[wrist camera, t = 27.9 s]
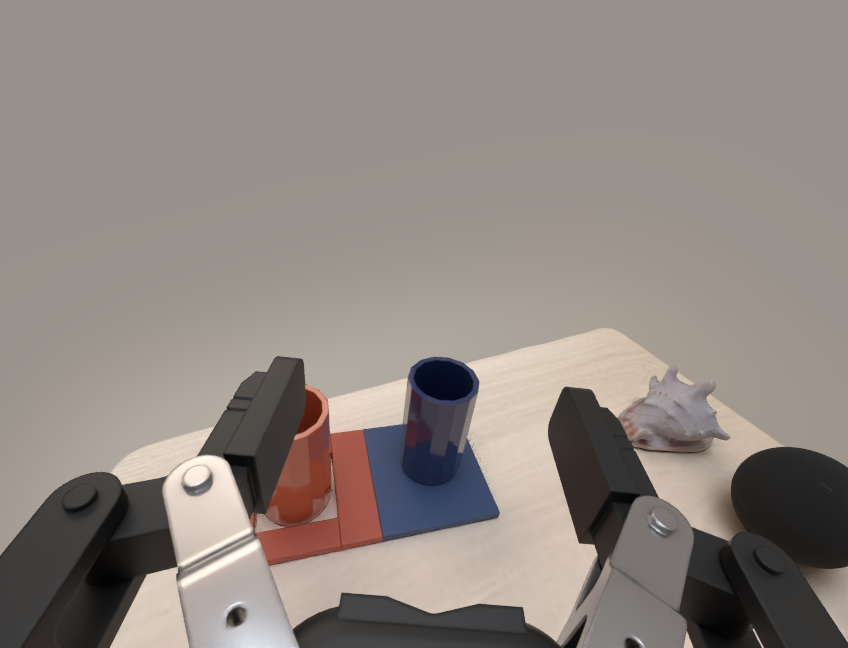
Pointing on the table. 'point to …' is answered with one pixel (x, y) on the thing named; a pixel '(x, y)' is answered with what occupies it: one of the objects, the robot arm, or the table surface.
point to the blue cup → (436, 419)
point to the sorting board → (381, 499)
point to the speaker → (796, 504)
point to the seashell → (673, 416)
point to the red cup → (305, 467)
